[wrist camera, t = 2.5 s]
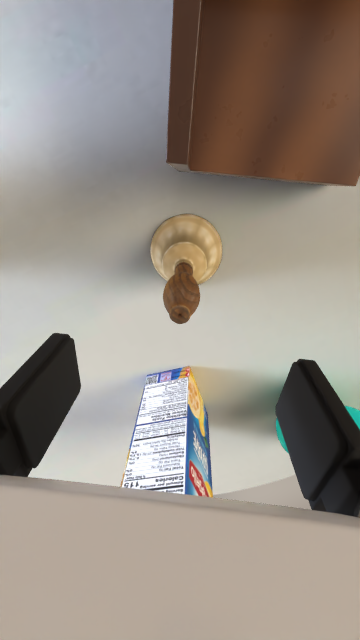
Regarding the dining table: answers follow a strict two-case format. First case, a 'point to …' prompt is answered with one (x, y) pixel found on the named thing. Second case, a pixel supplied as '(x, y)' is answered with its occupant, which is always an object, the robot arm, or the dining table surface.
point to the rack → (266, 90)
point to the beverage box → (170, 438)
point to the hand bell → (185, 261)
